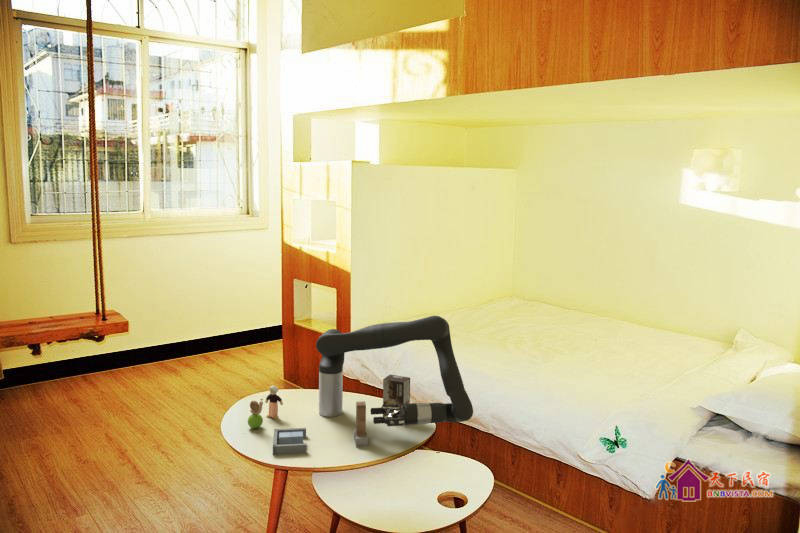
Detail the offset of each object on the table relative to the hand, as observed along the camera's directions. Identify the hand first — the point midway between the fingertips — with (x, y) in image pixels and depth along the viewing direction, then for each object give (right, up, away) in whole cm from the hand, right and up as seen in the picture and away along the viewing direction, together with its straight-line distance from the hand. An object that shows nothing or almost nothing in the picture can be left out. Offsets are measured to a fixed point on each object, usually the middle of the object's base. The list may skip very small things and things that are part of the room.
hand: (372, 415), depth 217 cm
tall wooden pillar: (-4, -9, +1) cm, 10 cm away
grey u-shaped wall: (-28, -9, -3) cm, 29 cm away
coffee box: (+8, -6, +23) cm, 25 cm away
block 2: (-26, -9, -3) cm, 28 cm away
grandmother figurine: (-39, -6, +21) cm, 45 cm away
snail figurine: (-43, -7, +10) cm, 45 cm away
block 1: (-30, -9, -4) cm, 32 cm away
